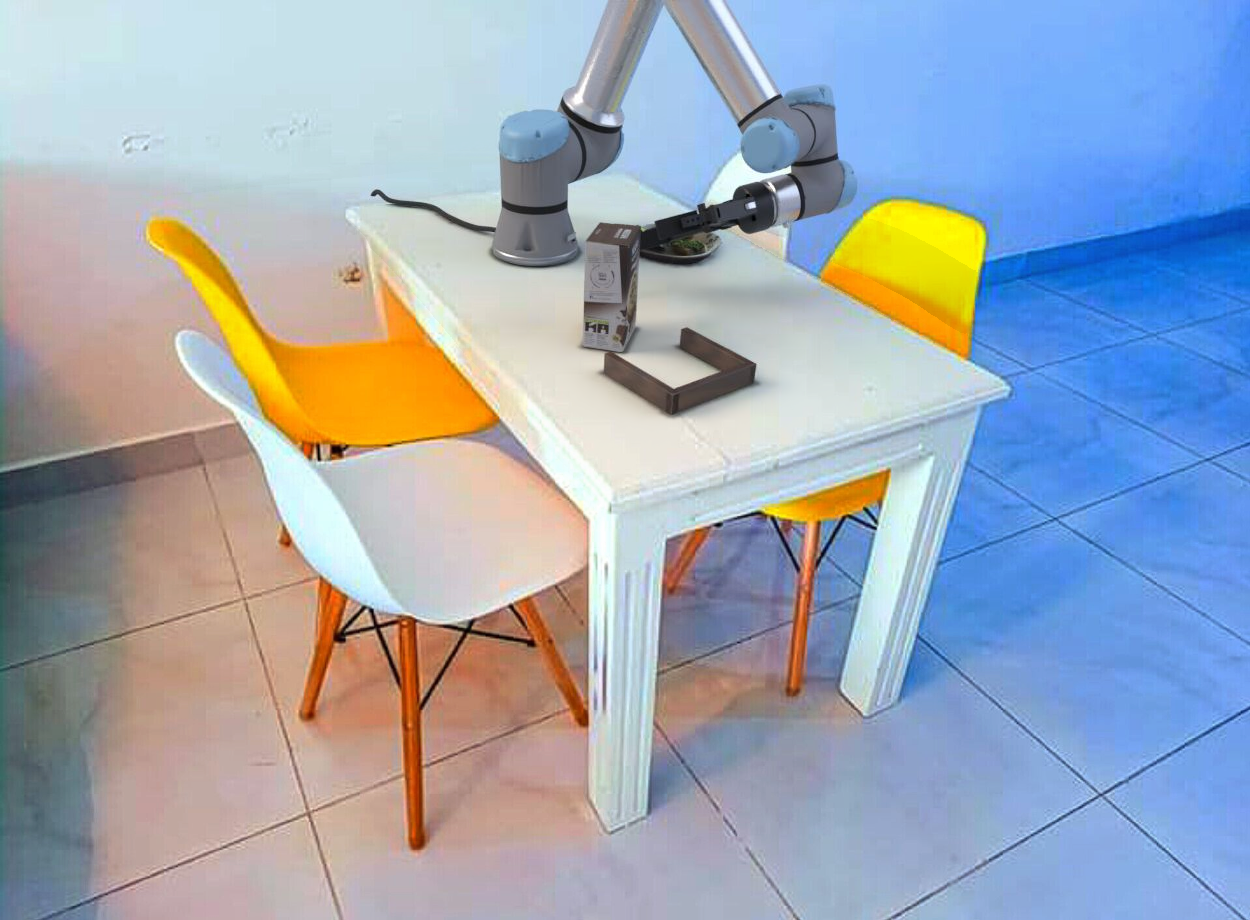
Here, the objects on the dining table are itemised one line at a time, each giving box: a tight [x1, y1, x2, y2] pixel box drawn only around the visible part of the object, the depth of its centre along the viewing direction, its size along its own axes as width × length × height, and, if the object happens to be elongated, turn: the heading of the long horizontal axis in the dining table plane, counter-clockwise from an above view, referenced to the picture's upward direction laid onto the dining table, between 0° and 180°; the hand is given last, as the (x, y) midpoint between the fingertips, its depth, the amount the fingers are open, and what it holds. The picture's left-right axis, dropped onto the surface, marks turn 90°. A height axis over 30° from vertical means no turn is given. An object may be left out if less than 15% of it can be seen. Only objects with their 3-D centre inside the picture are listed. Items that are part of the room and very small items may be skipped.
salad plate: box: [635, 223, 723, 266], centre depth 170 cm, size 19×18×5 cm
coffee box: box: [582, 221, 642, 353], centre depth 132 cm, size 9×6×16 cm
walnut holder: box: [603, 326, 757, 416], centre depth 126 cm, size 14×15×3 cm
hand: (641, 237), depth 138 cm, fingers open, 13 cm apart
